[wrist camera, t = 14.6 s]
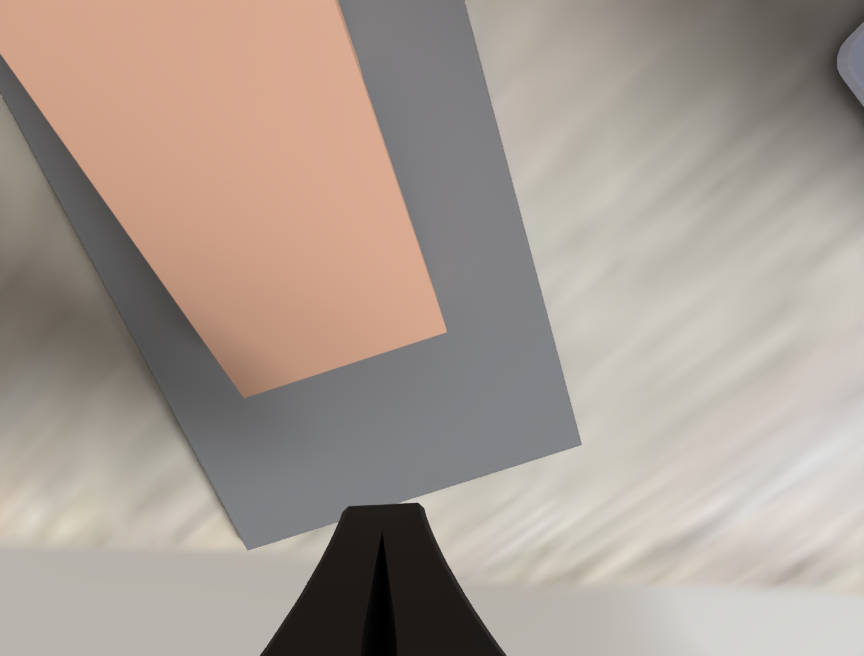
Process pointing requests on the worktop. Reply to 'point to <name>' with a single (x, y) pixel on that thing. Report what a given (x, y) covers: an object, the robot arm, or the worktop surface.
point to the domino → (237, 171)
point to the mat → (384, 373)
